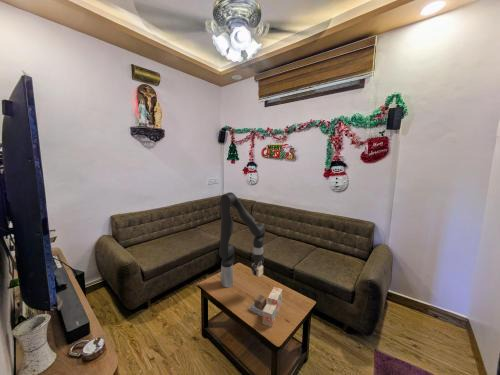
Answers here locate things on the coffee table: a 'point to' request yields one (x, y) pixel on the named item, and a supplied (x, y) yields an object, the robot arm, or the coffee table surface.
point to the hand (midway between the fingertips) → (257, 272)
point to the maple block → (258, 271)
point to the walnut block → (260, 302)
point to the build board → (256, 309)
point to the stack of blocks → (272, 306)
